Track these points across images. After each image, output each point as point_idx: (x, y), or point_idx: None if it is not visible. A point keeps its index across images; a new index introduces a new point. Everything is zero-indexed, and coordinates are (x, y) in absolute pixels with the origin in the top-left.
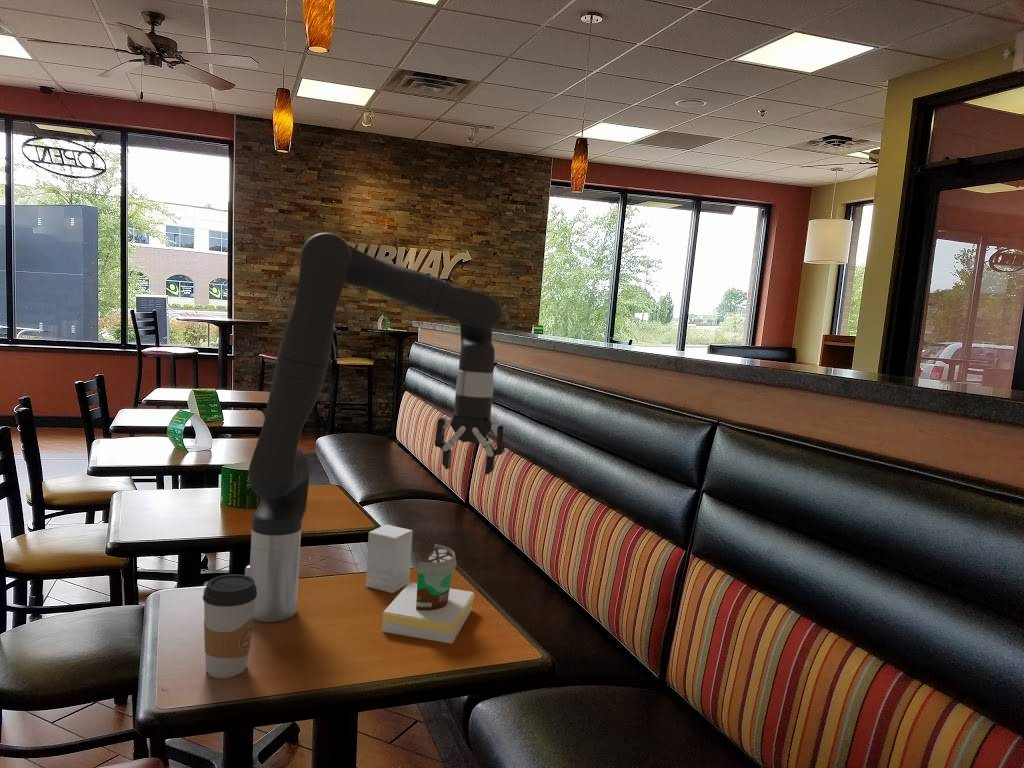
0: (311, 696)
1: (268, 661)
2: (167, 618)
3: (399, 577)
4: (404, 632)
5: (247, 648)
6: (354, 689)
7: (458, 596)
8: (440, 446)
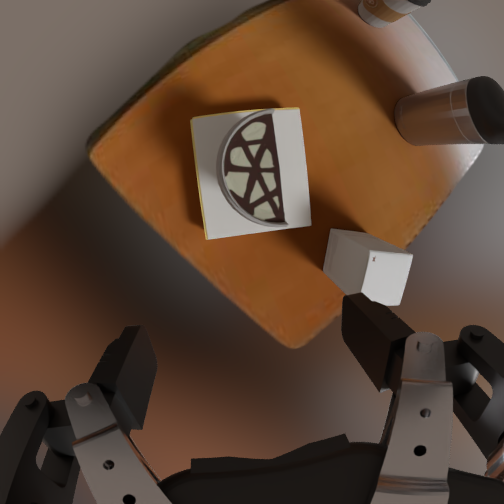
0: None
1: (354, 29)
2: None
3: (334, 248)
4: None
5: (365, 2)
6: (254, 7)
7: (222, 210)
8: (451, 346)
